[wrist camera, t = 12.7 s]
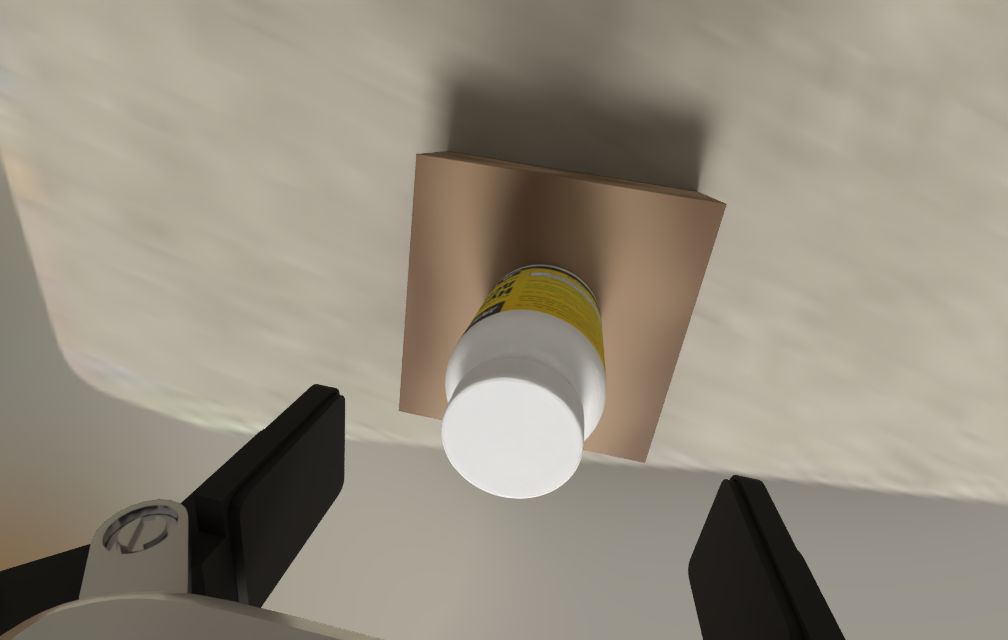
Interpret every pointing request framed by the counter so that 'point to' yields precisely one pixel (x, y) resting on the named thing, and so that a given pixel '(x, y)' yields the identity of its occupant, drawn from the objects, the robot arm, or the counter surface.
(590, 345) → the supplement bottle
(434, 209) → the walnut block
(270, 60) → the counter surface
